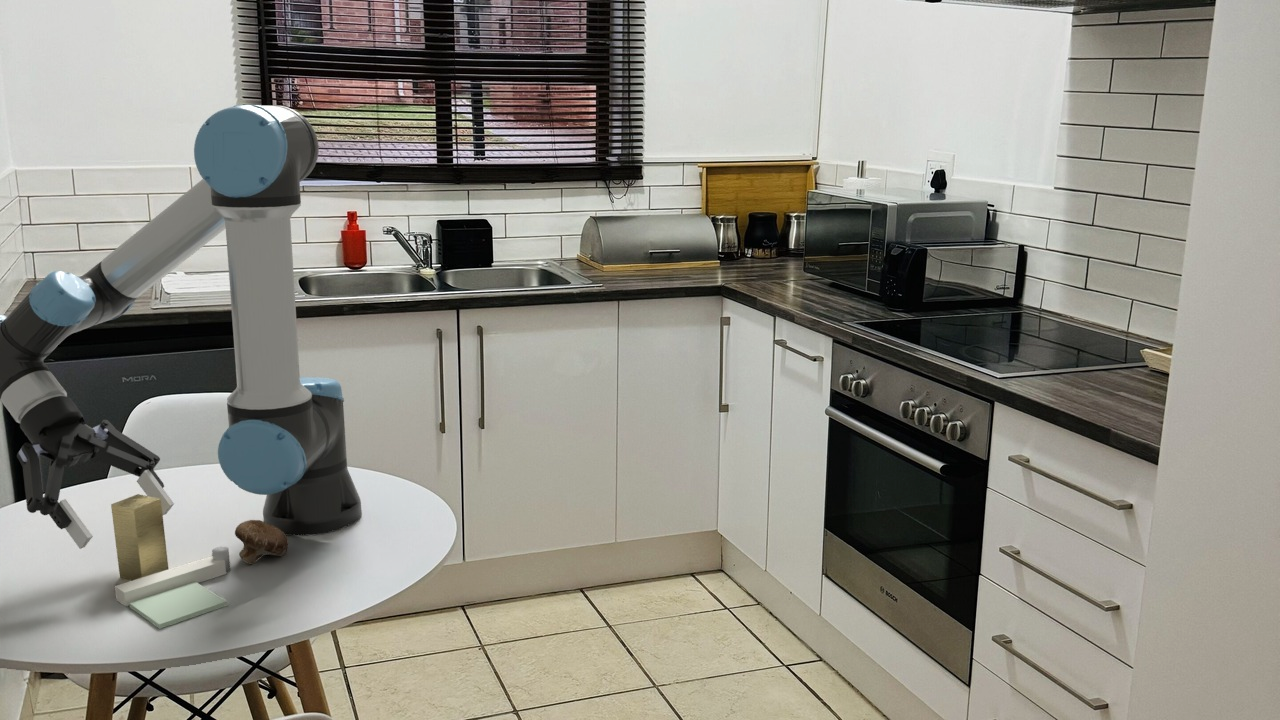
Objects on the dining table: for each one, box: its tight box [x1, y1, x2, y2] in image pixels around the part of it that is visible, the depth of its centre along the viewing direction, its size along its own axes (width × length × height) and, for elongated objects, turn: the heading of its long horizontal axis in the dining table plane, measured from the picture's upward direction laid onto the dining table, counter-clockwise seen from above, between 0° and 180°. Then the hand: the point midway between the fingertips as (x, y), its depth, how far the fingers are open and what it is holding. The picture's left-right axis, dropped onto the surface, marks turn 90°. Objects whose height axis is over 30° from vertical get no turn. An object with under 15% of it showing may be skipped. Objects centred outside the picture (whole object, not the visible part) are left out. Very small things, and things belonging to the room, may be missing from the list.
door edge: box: [114, 546, 231, 607], centre depth 151 cm, size 15×3×3 cm, turn 137°
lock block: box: [110, 493, 170, 582], centre depth 154 cm, size 4×4×11 cm
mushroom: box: [234, 519, 289, 565], centre depth 160 cm, size 8×8×6 cm
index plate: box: [129, 582, 228, 629], centre depth 145 cm, size 9×9×1 cm
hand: (129, 525), depth 154 cm, fingers open, 13 cm apart
